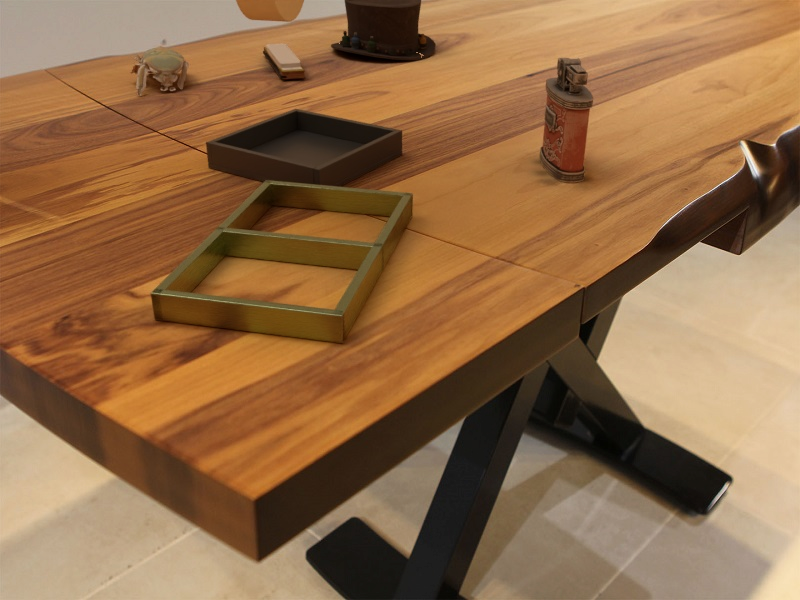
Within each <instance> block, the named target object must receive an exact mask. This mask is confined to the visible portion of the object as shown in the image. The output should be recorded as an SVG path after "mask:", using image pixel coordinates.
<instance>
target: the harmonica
mask: <svg viewBox="0 0 800 600" xmlns="http://www.w3.org/2000/svg"><path fill="white" fill-rule="evenodd" d="M262 54H263V55H264V56H265V58H266V60H267V62H268V63H269V64H270V66H271V67H272V69H273V70H274V72H275V73H276V74H277V76H278V77H279V78H280V79H282V80H296V79H305V78H306V73H305V69H304V68H303V67H302V62H301V59H300V58H299V56H297V55H296V54H295V52H294V51H293V50H292V49H291V47H290V46H288V44H286V43H285V42H281V43H267V44H266V45H265V46H263V50H262Z"/></svg>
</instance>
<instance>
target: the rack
mask: <svg viewBox="0 0 800 600" xmlns="http://www.w3.org/2000/svg"><path fill="white" fill-rule="evenodd" d="M273 206H276V207H285V208H298V209H306V210H319V211H328V212H339V213H349V214H360V215H370V216H380V217H388V220H387V221H386V222H385V224H384V226H383V228H382V229H381V231H380V233H379V234H378V236H377V238H376V239H375V241H374V242H371V241H361V240H352V239H340V238H331V237H321V236H311V235H300V234H293V233H281V232H272V231H262V230H251V229H252V228H253V227H254V225H255V224H256V223H257V222H258V221H259V220H260V219H261V218H262V217H263V216H264V215H265V213H267V212H268V210H270V209H271V207H273ZM413 206H414V194H413V192H403V191H392V190H380V189H370V188H358V187H348V186H347V187H346V186H340V187H337V186H326V185H315V184H304V183H292V182H281V181H271V180H265V181H264V182H262V183H261V184H260V185H259V186H258V187H257V188H256V189H255V190H254V191H253V192H252V193H251V194H250V195H249V196H248V197H247V198H246V199H245V200H244V201H243V202H241V204H240V205H238V207H236V209H235V210H233V212H231V213H230V214H229V215H228V216H227V217H226V218H225V220H223V221H222V222H221V223H220V224H219V225H218V226H217V227H216V228H215V229H214V230H213V231H212V232H211V233H210V234H209V235H208V236H207V237H206V238H205V239H204V240H203V241H202V242H201V243H200V244H199V245H198V246H197V247H195V249H193V251H192V252H191V253H190V254H189V255H187V257H186V258H185V259H183V260H182V261H181V262H180V264H178V266H176V267H175V268H174V269H173V271H171V273H169V274H168V275H167V276H166V277H165V278H164V279H163V280H162V281H161V282H160V283H159V284H158V285H157V286H156V287H155V288H154V289H153V290H152V291H151V292H150V299H151V305H152V311H153V313H152V314H153V318H154V321H159V322H160V321H162V322H169V323H171V322H172V323H179V324H187V325H195V326H201V327H211V328H218V329H227V330H233V331H242V332H249V333H250V332H251V333H258V334H267V335H272V336H273V335H274V336H282V337H289V338H297V339H305V340H314V341H322V342H331V343H335V344H344V342H345V340H346V338H347V336H348V335H349V333H350V331H351V329H352V327H353V326H354V324H355V322H356V321H357V318H358V316H359V315H360V313H361V312H362V309H363V307H364V305H365V303H366V302H367V300H368V298H369V296H370V294H371V292H372V290H373V289H374V287H375V285H376V283H377V281H378V279H379V278H380V276H381V274H382V272H383V270H384V268H385V267H386V264H387V263H388V261H389V259H390V257H391V255H392V254H393V252H394V251H395V248H396V247H397V245H398V242H399V241H400V239H401V238H402V235H403V234H404V232H405V230H406V228H407V226H408V224H409V223H410V221H411V219H412V217H413V212H414V211H413V210H414V209H413V208H414V207H413ZM225 256H226V257H228V256H229V257H237V258H244V259H245V258H247V259H253V260H254V259H255V260H265V261H274V262H284V263H291V264H292V263H293V264H301V265H311V266H318V267H319V266H320V267H329V268H336V269H337V268H338V269H339V268H340V269H347V270H348V269H349V270H355V271H356V270H357V271H356V273H355V275H354V276H353V278H352V279H351V281H350V283H349V285H348V286H347V288H346V290H345V292H344V293H343V295H342V296H341V298H340V300H339V301H338V303H337V305H336V306H335V308H334V309H332V308H325V307H315V306H308V305H307V306H306V305H298V304H289V303H283V302H274V301H273V302H272V301H264V300H256V299H249V298H238V297H230V296H223V295H222V296H221V295H215V294H214V295H213V294H207V293H197V292H193V291H194V289H195V288H196V287H198V286H199V284H200V283H201V282H202V281H203V280H205V278H206V277H207V276H208V274H210V273H211V272H212V270H213V269H214V268H215V267H216V266H217V265H218V264H219V263H220V262H221V261H222V260H223V259H224V258H225Z"/></svg>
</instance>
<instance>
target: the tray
mask: <svg viewBox="0 0 800 600" xmlns="http://www.w3.org/2000/svg"><path fill="white" fill-rule="evenodd" d="M205 147H206V157H207V167H208V169H212V170H216V171H219V172H223V173H227V174H231V175H235V176H238V177H243V178H246V179H250V180H254V181H258V182H262V183H263V182H264V181H265V180H271V181H281V182H292V183H304V184H315V185H326V186H337V187H343V186H344V185H346V184H348V183H350V182H352V181H354V180H356V179H358V178H360V177H362V176H363V175H366V174H368V173H370V172H371V171H373V170H376V169H378V168H380V167H381V166H383V165H386V164H387V163H389V162H391V161H393V160H395V159H397V158H399V157H401V156H402V155H403V130H402V129H397V128H393V127H387V126H383V125H378V124H372V123H367V122H363V121H358V120H353V119H348V118H343V117H339V116H333V115H328V114H323V113H319V112H315V111H310V110H303V109H300V108H293V109H290V110H288V111H286V112H283V113H281V114H278V115H275V116H273V117H270V118H267V119H265V120H262V121H259V122H256V123H254V124H251V125H248V126H245V127H243V128H241V129H238V130H235V131H232V132H230V133H227V134H225V135H222V136H219V137H216V138H214V139H211V140H208V141H206V142H205Z"/></svg>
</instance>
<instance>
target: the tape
mask: <svg viewBox="0 0 800 600" xmlns="http://www.w3.org/2000/svg"><path fill="white" fill-rule="evenodd" d="M235 2H236V5H237V6H238V9H239V11H240V12H241V13H242V15H243V16H244V17H245V18H246V19H248V20H251V21H262V22H263V21H264V22H265V21H266V22H282V23H283V22H284V23H285V22H287V23H289V22H293V21H294V20H296V19H297V17H298V16H299V15H300V13H301V10H302V8H303V7H304V3H305V0H235Z"/></svg>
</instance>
